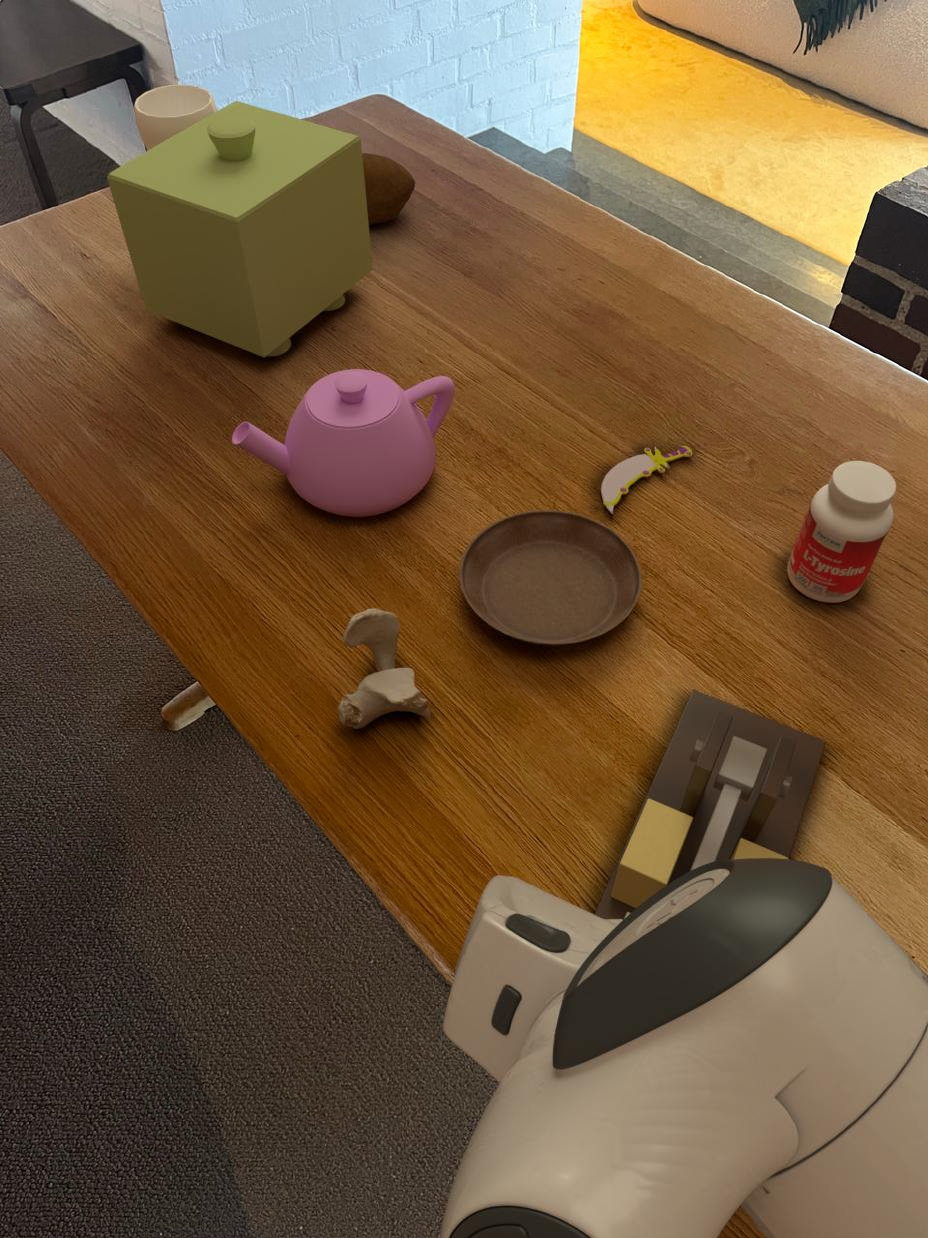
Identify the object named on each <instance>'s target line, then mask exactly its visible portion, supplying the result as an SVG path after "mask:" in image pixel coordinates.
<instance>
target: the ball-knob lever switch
mask: <svg viewBox="0 0 928 1238" xmlns="http://www.w3.org/2000/svg"><path fill="white" fill-rule="evenodd" d="M767 751H768V749H766V748H764V747H761V746H759V745H756V744H753V743H751V742H748V741H746V740H743V739H741V738H738V737H736V736H733V737H732V739H731V742H730V745H729V747H728V750H727V752H726V755H725V757H724V760H723V762H722V765H721V767H720V770H719V773H718V775H717V778H716V780H715V783H714V785H713V787H714V788H716V789H718V790H721V793H720V796H719V798H718V801H717V803H716V806H715V809H714V811H713V814H712V816H711V819H710V821H709V824H708V827H707V829H706V832H705V834H704V837H703V840H702V842H701V845H700V847H699V850H698V852H697V855H696V858H695V860H694V863H693V865H692V868H691V870H693V869H695V868H698V867H700V866H702V865H705V864H708V863H711V862H714V861H716V858H717V856H718V853H719V850H720V848H721V845H722V842H723V840H724V837H725V834H726V832H727V829H728V827H729V824H730V821H731V819H732V816H733V813H734V811H735V808H736V805H737V803H738V800H739V798H740V799H742V800H745V801H747V800H748V799H749V797H750V795H751V793H752V791H753V789H754V786H755V783H756V781H757V778H758V775H759V773H760V770H761V767H762V765H763V762H764V759H765V757H766V754H767ZM691 870H690V871H691Z"/></svg>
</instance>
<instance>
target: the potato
mask: <svg viewBox="0 0 928 1238" xmlns="http://www.w3.org/2000/svg"><path fill="white" fill-rule="evenodd" d="M362 159H363V169H364V180H365V190H366V201H367V212H368V223H369V226H370V225H375V224H380V223H381V224H382V223H386V222H389V221H391V220H393V219H395V218H396V217H397V216H398V215H399V214H400V213H401V211H402V210H403V209H404V208H405V206H406V204H407V203H408V201H409V200H410V199H411V196H412V194H413V192H414V191H415V187H416V181H415V179H414V177H413V175H412V174H411V172H409V171H408V170H407V168H405V167H404V166H403V165H402V164H400V163H398V162H397V161H396V160H394V159H393V158H390V157H387V156H384V155H380V154H377V153H376V154H375V153H369V152H362Z"/></svg>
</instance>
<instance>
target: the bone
mask: <svg viewBox="0 0 928 1238" xmlns="http://www.w3.org/2000/svg"><path fill="white" fill-rule="evenodd" d="M401 631H402V629H401V626H400V622H399V620H398V616H397V615H396V614H395V613H393V612H390V611H384V610H382V609H380V608H368V609H366V610H364V611H360V612H357V613H355V614H353V615H352V616H351V617H350V619H349V622H348V624H347V626H346V628H345V629H344V633H343V635H342V640H343V642H344V644H345V646H346V645H347V647H348V648H351V649H353V648H355V647H358V646H359V645H365V646H367V647H368V649H369V650H370V651H371V654H372V656H373V661H374V664H375V669H376V671H377V672H374V673H371V674H369V675H366V676H365V677H364V678H362V680H361V681H360V682H359V684H358V685H357V688H356V690H355V692H353V693H348V694H345V695H344V696H342V699H341V700H340V702H339V704H338V706H337V712H338V719H339V721H340V723H341V724H342V725H343V726H345V727H350V728H353V729H356V730H360V729H363V728H364V727H366V726H367V725H369V724H370V723H372V722H373V721H375V720H377V719H378V718H379V717H381V716H384V715H387V714H389V713H391V712H410V713H414V714H416V715H418V716H422V717H424V718H426V719H430V718H431V711H430V709H429V708H428V706H429V701H428V699H427V698H422V693H421V691H420V690H419V689H418V688H417V687H416V686H415V671H414V670H413V669H412V668H410V667H396V654H397V651H398V641H399V637H400V633H401Z"/></svg>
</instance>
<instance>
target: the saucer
mask: <svg viewBox="0 0 928 1238" xmlns="http://www.w3.org/2000/svg"><path fill="white" fill-rule="evenodd" d="M641 570H642V569H641V565H640V564H639V561H638V559H637V556H636V554H635V552H634V551H633V549H632V548H631V547H630V545H629V544H628V543H627V542H626V540H624V538H623V537H622V536H621V535H620V534H618V533H617V532H616V531H615V530H613V529H611V527H609V526H607V525H605V524H603V523H602V522H600V521H597V520H595V519H593V518H590V517H588V516H585V515H582V514H580V513H574V512H570V511H563V510H553V509H552V510H551V509H544V510H543V509H541V510H530V511H529V510H528V511H523V512H518V513H514V514H510V515H507V516H505V517H503V518H500V519H498V520H496V521H495V522H492V523H491V524H489V525H488V526H486V527H485V528H484V529H482V530H481V531H480V532H478V533H477V534H476V535H475V536H474V537H473V538H472V540H471V541H470V542H469V543H468V545H467V546H466V548H465V550H464V552H463V554H462V557H461V560H460V564H459V572H458V573H459V574H458V575H459V576H458V577H459V579H458V580H459V586H460V589H461V593H462V594H463V596H464V599H465V601H466V602H467V604H468V605H469V607H470V608H471V609H472V611H473V612H474V613H475V614H476V615H477V616H478V617H479V618H480V619H481V620H482V621H484V623H486V624H487V625H488V626H490V627H491V628H493V629H494V630H496V631H497V632H500V633H501V634H503V635H505V636H507V637H509V638H512V639H515V640H517V641H520V642H524V643H528V644H532V645H538V646H544V647H545V646H548V647H561V646H570V645H576V644H580V643H584V642H587V641H591V639H596V638H597V637H600V636H602V635H604V634H606V633H608V632H609V631H611V630H614V629H616V627H617V626H618V625H620V624H621V623H622V622H623V621H625V619H626V618H627V617H628V616H629V615H630V614H631V612H632V611H633V609H634V608H635V607H636V604H637V603H638V601H639V598H640V594H641V592H642V591H641V590H642V583H643V582H642V581H643V580H642V571H641Z"/></svg>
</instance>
